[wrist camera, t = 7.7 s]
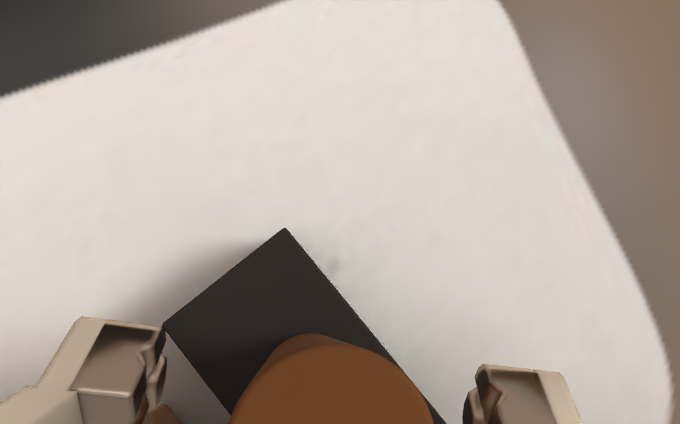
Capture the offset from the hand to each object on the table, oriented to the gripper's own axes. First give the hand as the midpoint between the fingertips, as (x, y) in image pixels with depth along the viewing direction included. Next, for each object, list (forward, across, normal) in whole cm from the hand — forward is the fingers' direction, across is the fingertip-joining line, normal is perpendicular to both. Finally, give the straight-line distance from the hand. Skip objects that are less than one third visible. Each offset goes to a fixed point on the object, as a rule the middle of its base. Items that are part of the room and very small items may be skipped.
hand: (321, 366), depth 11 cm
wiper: (+3, 0, +4) cm, 5 cm away
